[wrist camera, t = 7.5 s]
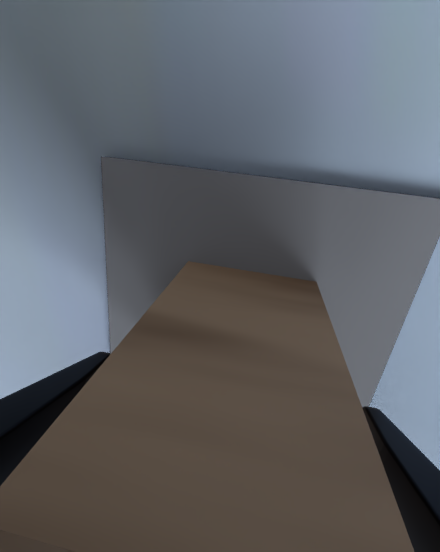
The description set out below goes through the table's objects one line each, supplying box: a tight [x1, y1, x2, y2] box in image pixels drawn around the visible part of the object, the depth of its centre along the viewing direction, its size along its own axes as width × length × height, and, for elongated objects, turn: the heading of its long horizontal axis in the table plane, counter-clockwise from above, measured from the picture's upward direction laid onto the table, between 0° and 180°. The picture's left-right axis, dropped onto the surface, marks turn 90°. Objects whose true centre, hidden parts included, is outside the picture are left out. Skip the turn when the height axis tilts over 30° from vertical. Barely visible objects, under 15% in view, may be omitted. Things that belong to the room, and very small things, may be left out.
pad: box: [101, 157, 440, 407], centre depth 12 cm, size 12×12×1 cm
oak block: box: [0, 261, 414, 552], centre depth 8 cm, size 5×5×9 cm
